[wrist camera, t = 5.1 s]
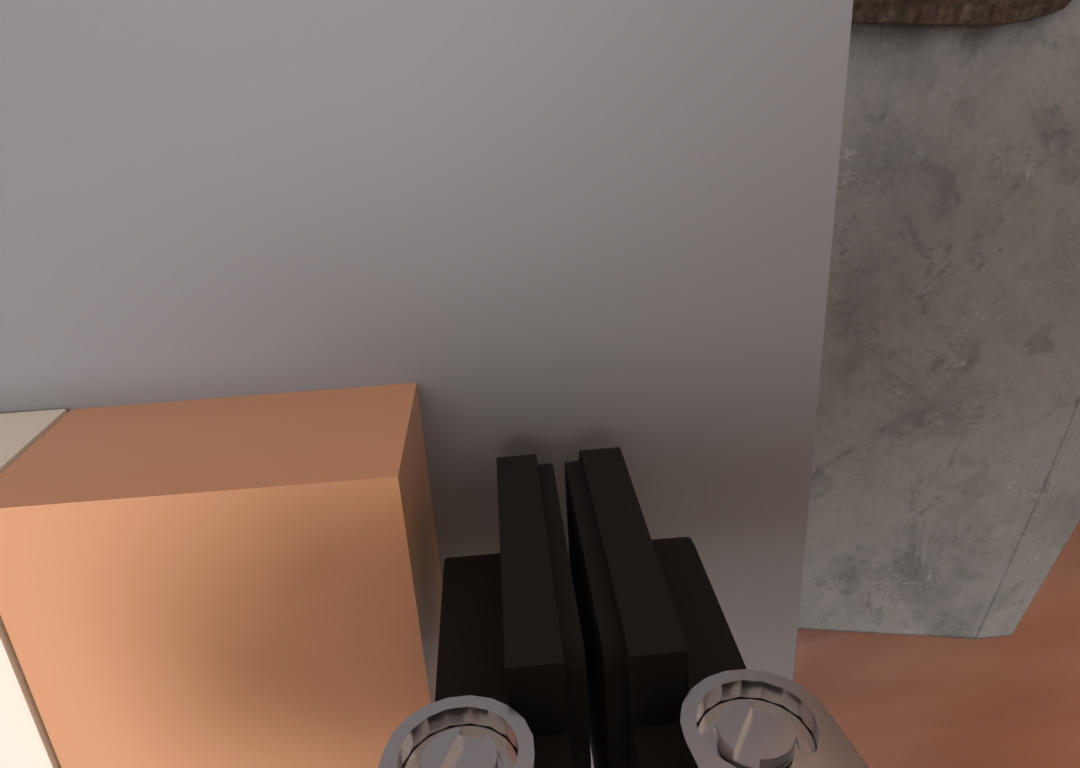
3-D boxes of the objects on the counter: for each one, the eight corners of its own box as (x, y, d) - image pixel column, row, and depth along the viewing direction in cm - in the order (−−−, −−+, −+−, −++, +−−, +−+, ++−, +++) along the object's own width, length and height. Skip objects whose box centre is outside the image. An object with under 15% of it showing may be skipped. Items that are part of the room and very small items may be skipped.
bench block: (721, -217, 13) (888, -389, 8) (695, 703, 21) (770, 934, 16) (-25, -180, 13) (-395, -334, 7) (235, 746, 21) (147, 1001, 15)
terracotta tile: (416, 382, 11) (397, 476, 9) (450, 648, 13) (442, 785, 10) (72, 408, 11) (-42, 512, 8) (156, 673, 12) (82, 818, 10)
